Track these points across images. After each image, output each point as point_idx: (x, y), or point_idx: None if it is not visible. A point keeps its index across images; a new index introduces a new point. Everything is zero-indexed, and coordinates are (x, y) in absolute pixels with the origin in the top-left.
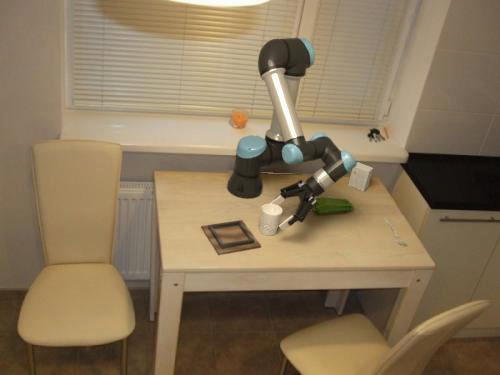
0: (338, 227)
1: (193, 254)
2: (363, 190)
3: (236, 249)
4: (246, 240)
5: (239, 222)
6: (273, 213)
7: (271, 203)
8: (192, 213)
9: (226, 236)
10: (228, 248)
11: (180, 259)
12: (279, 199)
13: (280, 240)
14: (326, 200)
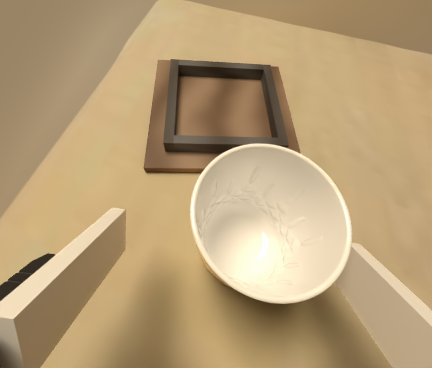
0: None
1: (180, 32)
2: None
3: (155, 97)
4: (170, 119)
5: (276, 139)
6: (293, 268)
7: (370, 262)
8: (338, 76)
9: (222, 97)
10: (168, 83)
11: (173, 13)
12: (423, 346)
13: (158, 268)
14: None
